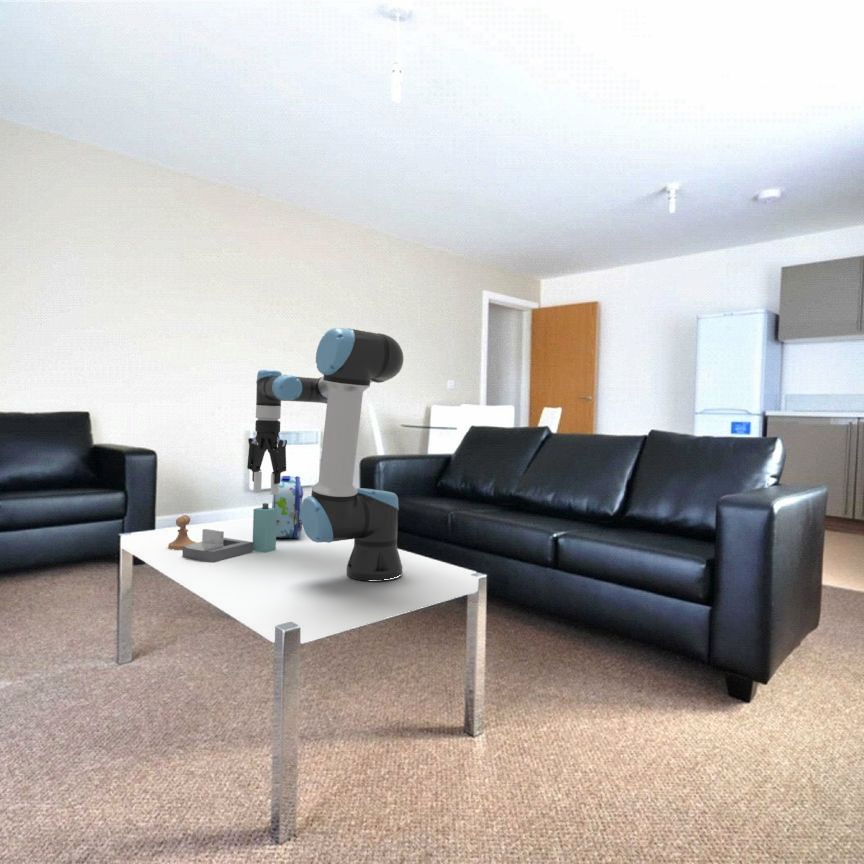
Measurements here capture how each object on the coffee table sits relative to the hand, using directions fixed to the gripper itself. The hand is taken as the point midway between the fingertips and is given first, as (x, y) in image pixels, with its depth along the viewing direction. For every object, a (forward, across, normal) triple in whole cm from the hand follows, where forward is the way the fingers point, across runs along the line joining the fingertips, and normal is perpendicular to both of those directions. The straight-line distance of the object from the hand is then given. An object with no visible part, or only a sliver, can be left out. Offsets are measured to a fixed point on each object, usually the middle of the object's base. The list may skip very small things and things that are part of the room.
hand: (265, 493), depth 182 cm
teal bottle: (+18, 0, 0) cm, 18 cm away
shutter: (+15, +7, +17) cm, 24 cm away
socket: (+18, +7, +12) cm, 23 cm away
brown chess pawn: (+18, +23, +11) cm, 31 cm away
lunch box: (+18, +11, -24) cm, 32 cm away
